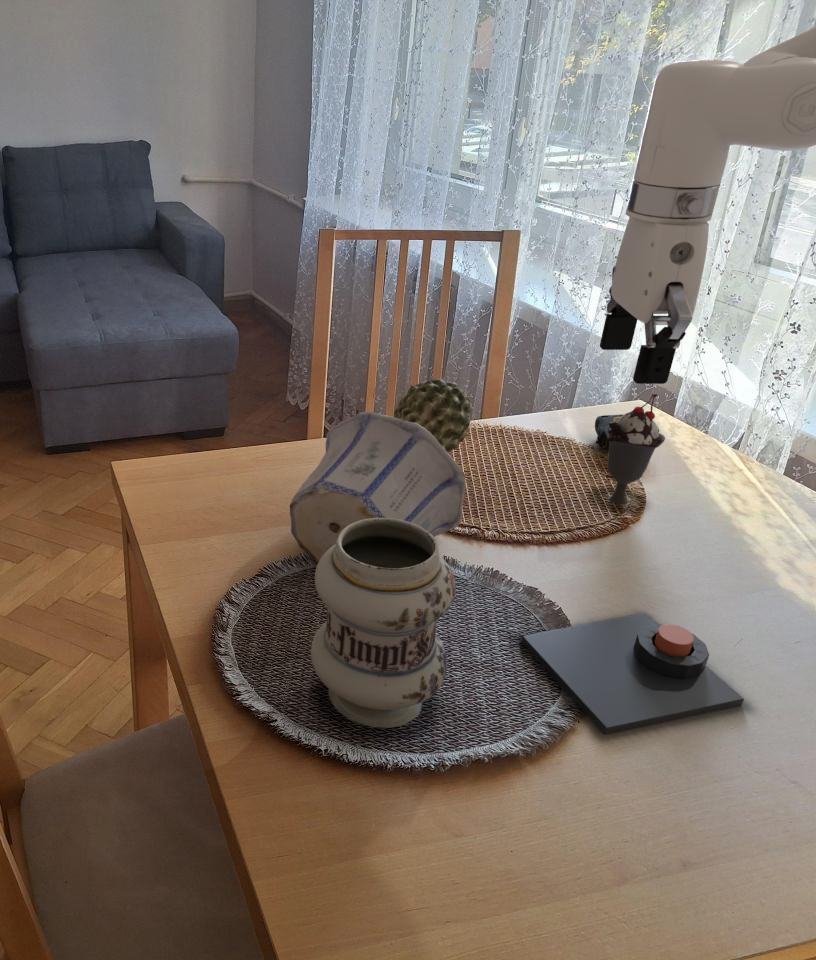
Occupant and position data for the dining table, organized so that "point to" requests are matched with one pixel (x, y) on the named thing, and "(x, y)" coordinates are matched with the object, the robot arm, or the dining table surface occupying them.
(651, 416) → the sundae
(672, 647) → the button
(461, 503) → the potted plant
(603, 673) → the scale
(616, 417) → the tape measure
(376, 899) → the dining table surface
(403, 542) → the apothecary jar
